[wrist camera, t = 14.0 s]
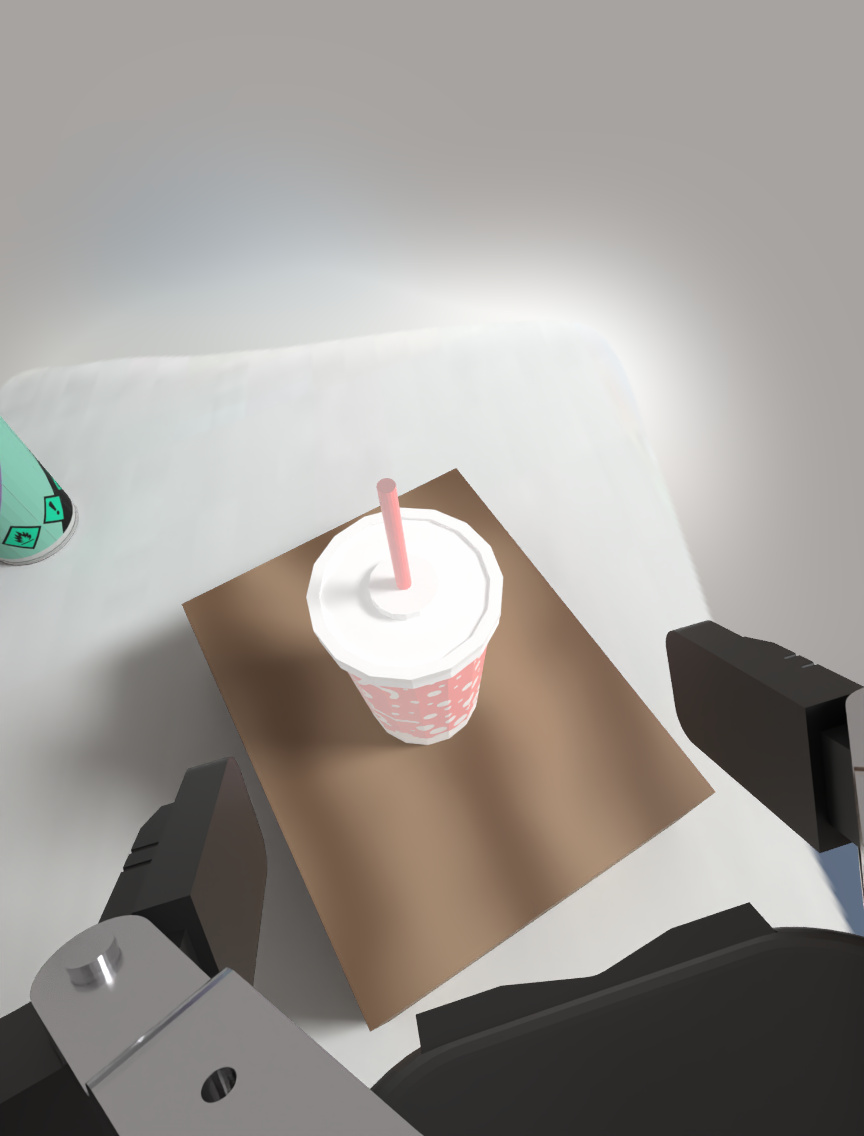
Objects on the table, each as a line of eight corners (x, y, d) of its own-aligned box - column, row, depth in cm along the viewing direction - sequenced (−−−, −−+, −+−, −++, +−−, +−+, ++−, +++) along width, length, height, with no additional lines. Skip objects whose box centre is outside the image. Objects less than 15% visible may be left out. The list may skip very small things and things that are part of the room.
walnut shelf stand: (389, 1021, 27) (370, 1031, 22) (222, 656, 36) (181, 604, 31) (675, 822, 31) (715, 792, 26) (458, 533, 40) (456, 468, 35)
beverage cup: (329, 664, 29) (228, 450, 17) (453, 604, 30) (439, 365, 18) (389, 791, 26) (318, 640, 14) (523, 719, 27) (561, 524, 16)
